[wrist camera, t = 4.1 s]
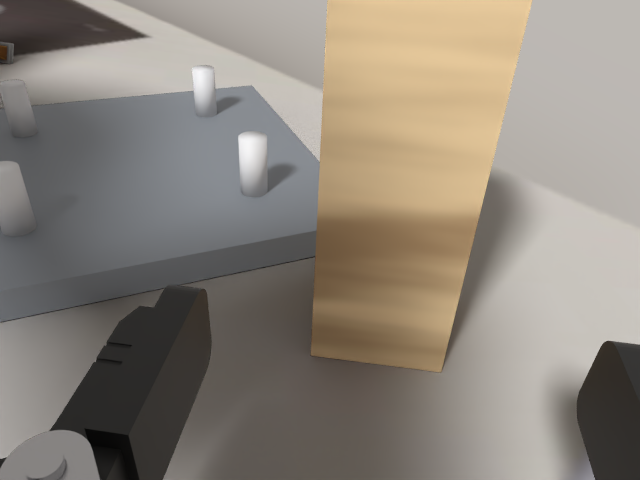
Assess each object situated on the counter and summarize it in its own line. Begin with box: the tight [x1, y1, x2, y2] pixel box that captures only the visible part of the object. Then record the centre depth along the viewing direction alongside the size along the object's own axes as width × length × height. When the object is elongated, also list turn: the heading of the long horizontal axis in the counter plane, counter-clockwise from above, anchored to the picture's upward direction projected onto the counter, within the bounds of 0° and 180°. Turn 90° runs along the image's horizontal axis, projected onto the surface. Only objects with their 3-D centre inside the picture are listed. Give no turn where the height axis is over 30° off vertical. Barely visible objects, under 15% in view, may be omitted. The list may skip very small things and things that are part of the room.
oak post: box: [311, 0, 532, 372], centre depth 19 cm, size 5×5×14 cm
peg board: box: [0, 65, 320, 322], centre depth 30 cm, size 20×20×4 cm
